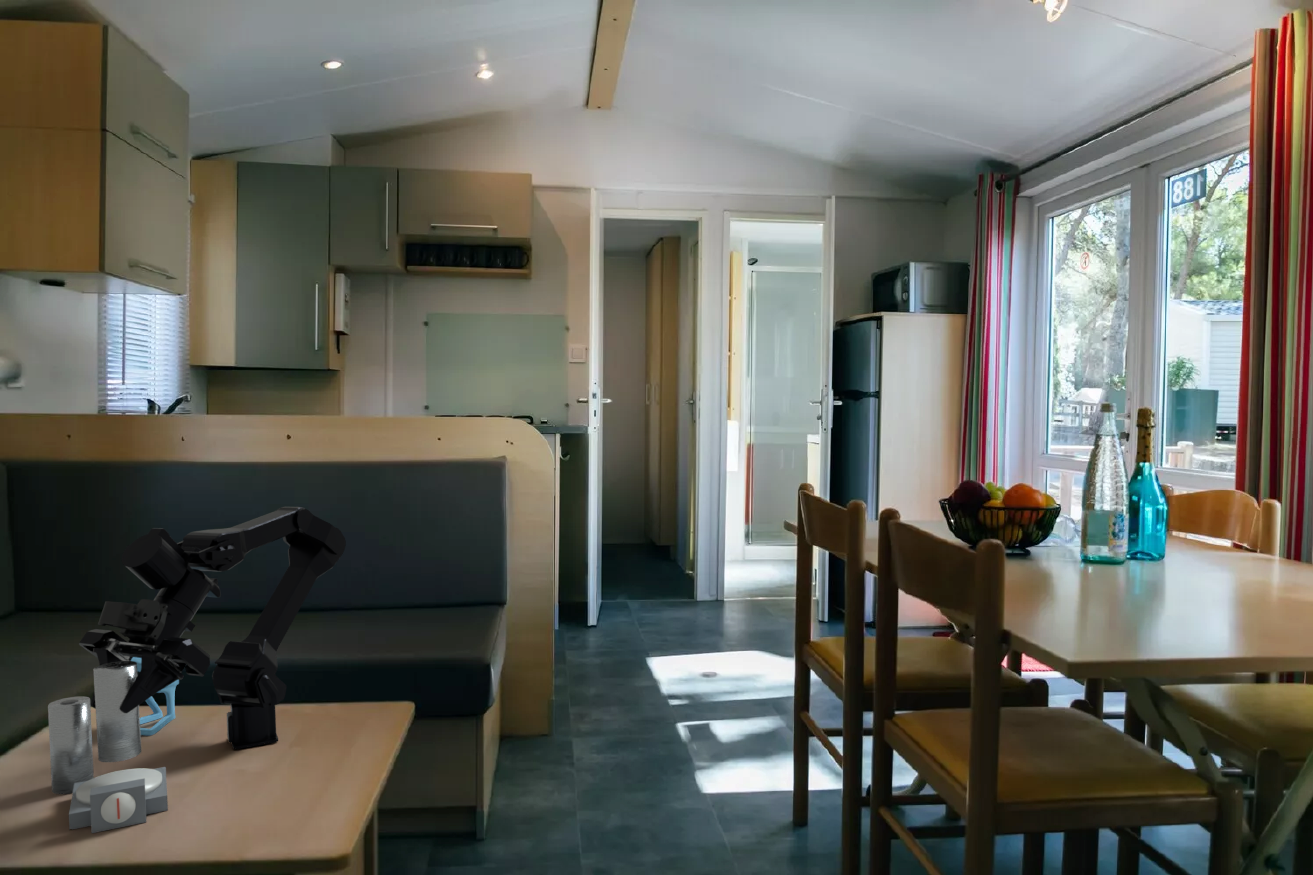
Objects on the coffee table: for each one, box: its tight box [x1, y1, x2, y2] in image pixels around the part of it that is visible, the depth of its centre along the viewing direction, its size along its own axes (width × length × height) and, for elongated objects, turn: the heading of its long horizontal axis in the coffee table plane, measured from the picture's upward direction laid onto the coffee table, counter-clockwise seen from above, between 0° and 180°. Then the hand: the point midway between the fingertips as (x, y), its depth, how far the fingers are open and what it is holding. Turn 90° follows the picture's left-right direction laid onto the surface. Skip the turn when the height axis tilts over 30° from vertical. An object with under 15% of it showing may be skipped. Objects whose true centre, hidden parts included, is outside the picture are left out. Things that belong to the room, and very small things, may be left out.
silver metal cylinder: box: [92, 661, 142, 763], centre depth 125 cm, size 5×5×12 cm
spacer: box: [47, 696, 95, 795], centre depth 132 cm, size 5×5×12 cm
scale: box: [68, 766, 169, 834], centre depth 125 cm, size 11×14×5 cm
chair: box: [131, 657, 180, 737], centre depth 156 cm, size 8×8×12 cm
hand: (108, 709), depth 124 cm, fingers closed on silver metal cylinder, 5 cm apart
